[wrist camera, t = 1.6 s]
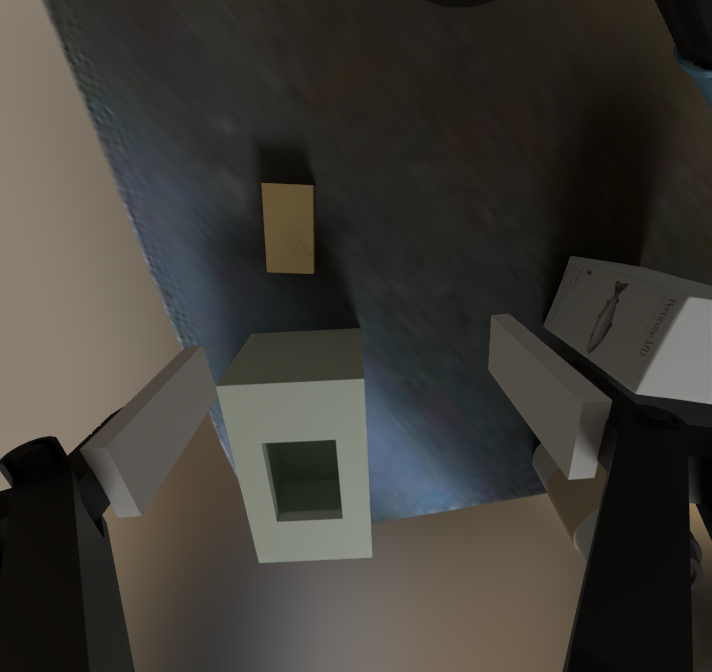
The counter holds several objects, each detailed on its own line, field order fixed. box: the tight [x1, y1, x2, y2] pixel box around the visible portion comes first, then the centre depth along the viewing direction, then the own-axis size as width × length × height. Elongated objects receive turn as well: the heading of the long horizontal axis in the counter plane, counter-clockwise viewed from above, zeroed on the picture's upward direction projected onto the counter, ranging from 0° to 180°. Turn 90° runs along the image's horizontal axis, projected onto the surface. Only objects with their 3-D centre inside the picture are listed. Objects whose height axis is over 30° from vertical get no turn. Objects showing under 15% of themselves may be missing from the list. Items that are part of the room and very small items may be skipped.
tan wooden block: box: [261, 183, 317, 274], centre depth 29 cm, size 7×4×3 cm, turn 178°
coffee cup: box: [532, 443, 703, 591], centre depth 35 cm, size 9×9×15 cm
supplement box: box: [543, 256, 712, 404], centre depth 28 cm, size 7×7×13 cm
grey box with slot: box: [216, 328, 372, 563], centre depth 34 cm, size 20×11×10 cm, turn 3°
